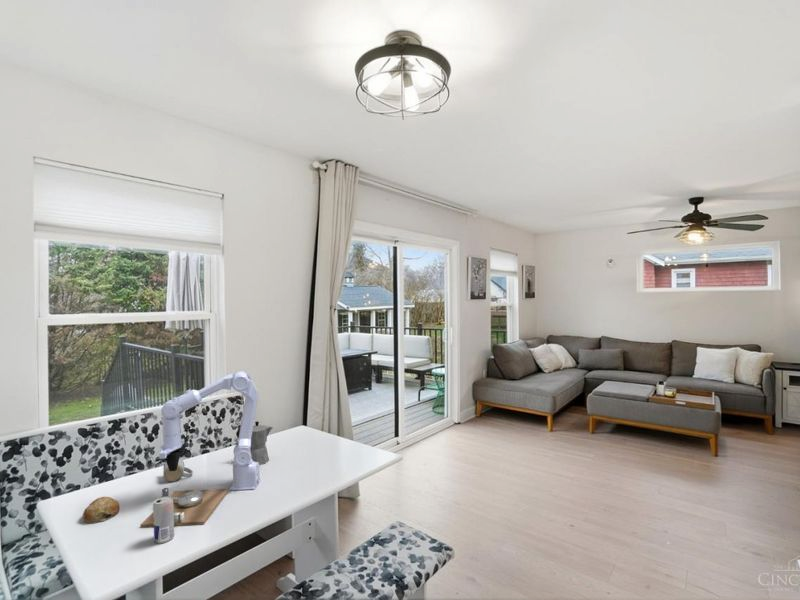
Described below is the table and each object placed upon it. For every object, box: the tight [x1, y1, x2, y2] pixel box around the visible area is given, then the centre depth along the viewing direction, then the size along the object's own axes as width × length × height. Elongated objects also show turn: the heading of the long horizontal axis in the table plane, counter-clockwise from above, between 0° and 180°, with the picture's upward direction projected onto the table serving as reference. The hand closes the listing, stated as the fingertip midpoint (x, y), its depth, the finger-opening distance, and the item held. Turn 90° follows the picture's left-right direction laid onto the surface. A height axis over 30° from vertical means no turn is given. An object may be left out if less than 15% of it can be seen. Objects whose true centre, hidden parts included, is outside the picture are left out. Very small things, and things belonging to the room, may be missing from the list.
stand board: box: [140, 487, 230, 529], centre depth 146 cm, size 20×23×4 cm
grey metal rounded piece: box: [161, 487, 203, 508], centre depth 148 cm, size 14×8×5 cm, turn 93°
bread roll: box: [82, 496, 121, 524], centre depth 142 cm, size 10×10×8 cm
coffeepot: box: [235, 420, 273, 466], centre depth 185 cm, size 15×9×18 cm, turn 103°
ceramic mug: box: [162, 457, 194, 483], centre depth 171 cm, size 11×8×8 cm
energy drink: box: [152, 495, 175, 544], centre depth 128 cm, size 5×5×12 cm
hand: (173, 470), depth 153 cm, fingers closed
